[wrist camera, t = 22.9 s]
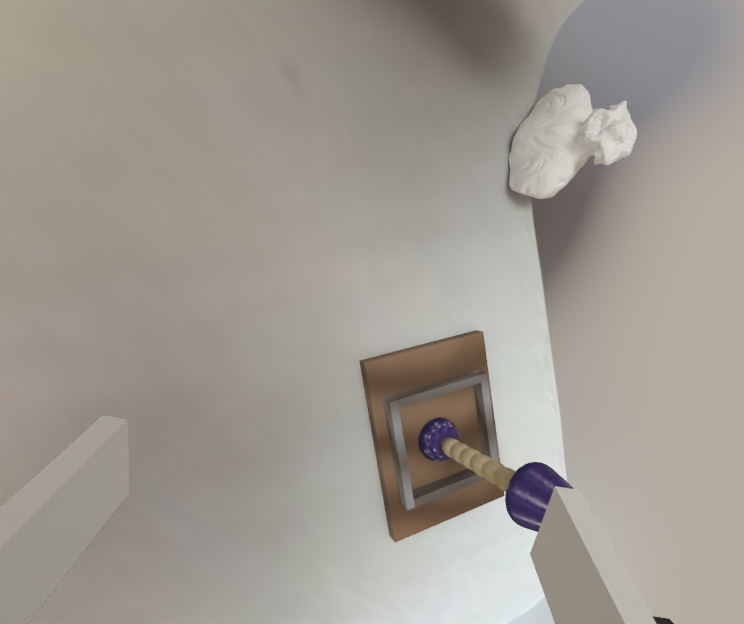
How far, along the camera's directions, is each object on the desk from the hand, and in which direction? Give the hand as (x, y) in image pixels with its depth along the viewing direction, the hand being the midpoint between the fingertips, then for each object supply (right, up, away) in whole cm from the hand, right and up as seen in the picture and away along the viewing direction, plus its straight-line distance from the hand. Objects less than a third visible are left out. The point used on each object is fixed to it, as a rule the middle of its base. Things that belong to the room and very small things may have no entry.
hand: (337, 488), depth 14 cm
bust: (+18, +22, +34) cm, 44 cm away
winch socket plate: (+7, -7, +31) cm, 33 cm away
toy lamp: (+8, -7, +30) cm, 32 cm away
